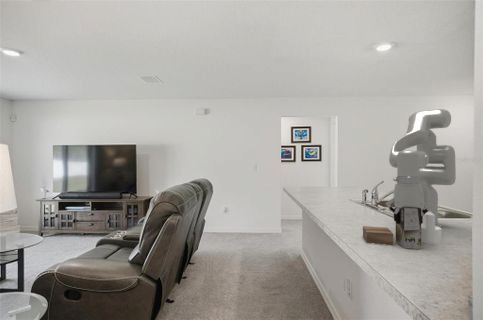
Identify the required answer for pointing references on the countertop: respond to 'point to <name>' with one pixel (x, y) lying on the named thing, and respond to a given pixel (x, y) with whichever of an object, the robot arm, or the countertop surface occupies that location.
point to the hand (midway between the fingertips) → (407, 223)
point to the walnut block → (377, 235)
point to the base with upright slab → (430, 230)
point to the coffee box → (409, 228)
